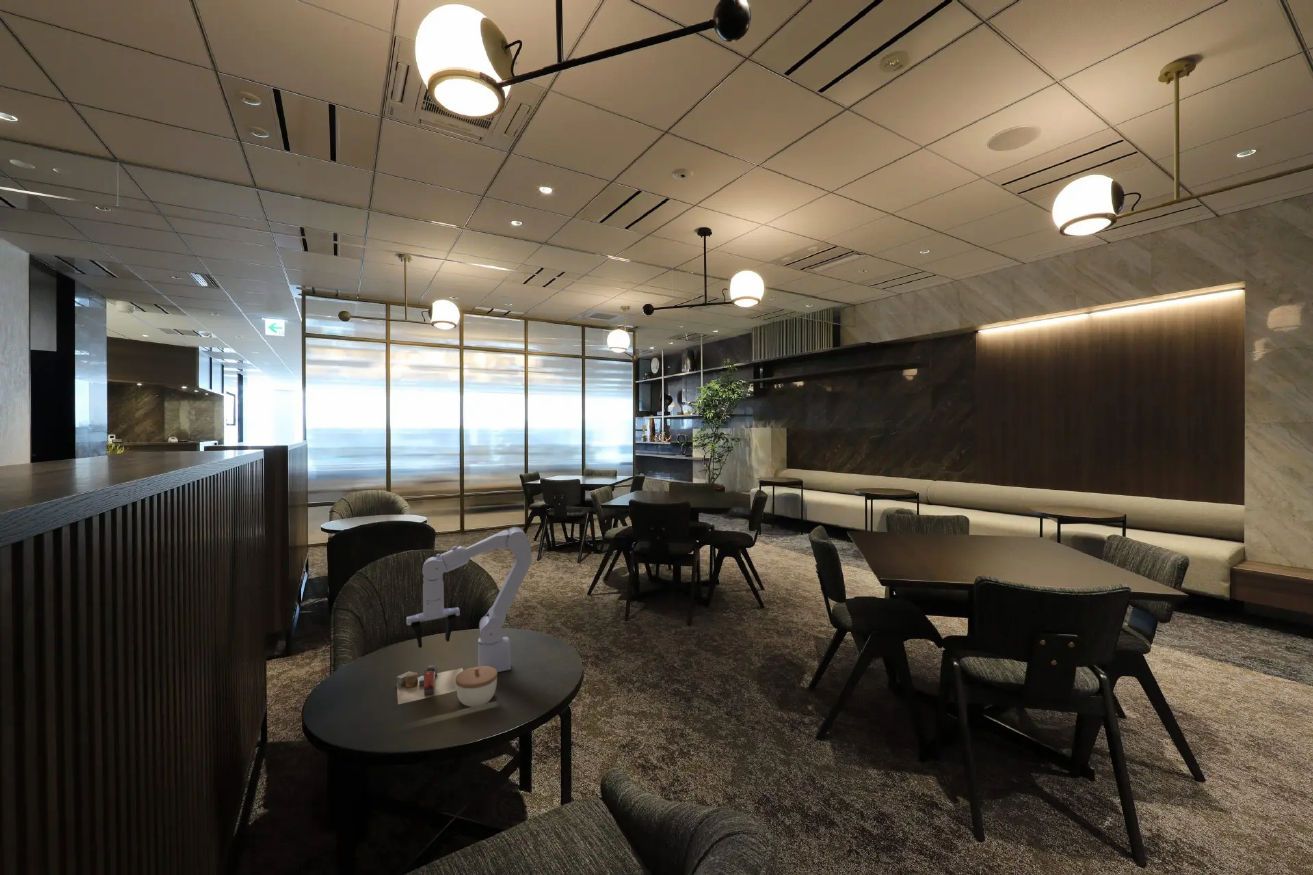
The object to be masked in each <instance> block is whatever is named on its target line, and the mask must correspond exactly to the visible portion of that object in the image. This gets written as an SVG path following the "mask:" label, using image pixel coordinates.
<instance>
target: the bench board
mask: <svg viewBox="0 0 1313 875" xmlns="http://www.w3.org/2000/svg"><path fill="white" fill-rule="evenodd" d="M434 667H435V665H434V664H431V665H428V666H427V667H426V669H427V670H428V671H431V670H434ZM462 671H464V669H463V667H460V668H457V669H456V668H455V669H451V670H450V669H449V670H446V671H442V672H437V675H436V676H435V683H434V694H428V695H424V685H423V686H419V678H420V676H418V685H417V686H416V687H414V688H406V675H407V674H409V673H413V671H406V672H404V673H402V674H400V675H398V676H396V690H397V693H396V694H397V706H398V705H402V704H407V703H412V702H416V701H419V700H423V699H428V698H433V697H437V696H441V695H442V696H443V695H446V694H451V693H454V692H457V690H456V676H457V675H458V674H459V673H460V672H462Z"/></svg>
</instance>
